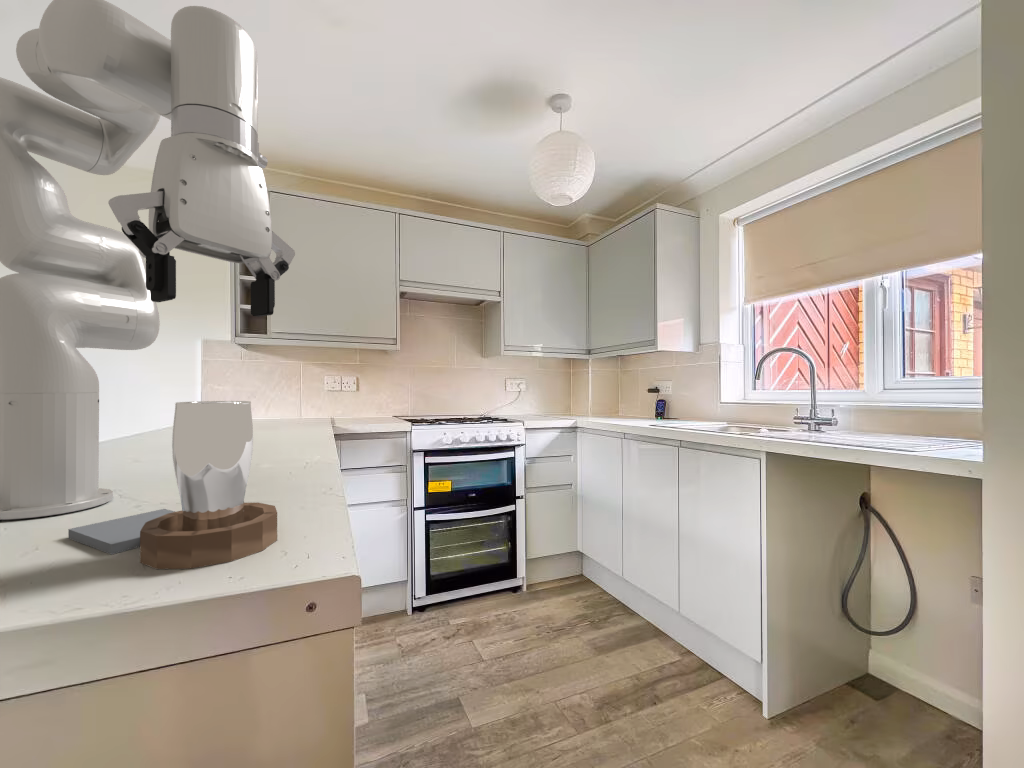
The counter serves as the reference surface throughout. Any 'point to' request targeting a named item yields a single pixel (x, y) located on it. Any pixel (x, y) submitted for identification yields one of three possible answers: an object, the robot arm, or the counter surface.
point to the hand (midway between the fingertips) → (217, 308)
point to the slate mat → (115, 532)
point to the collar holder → (206, 539)
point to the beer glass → (212, 461)
